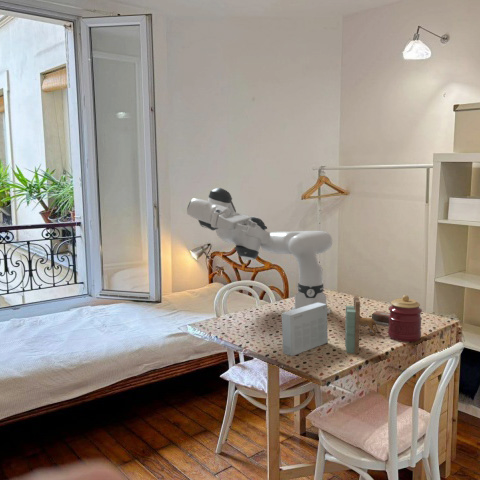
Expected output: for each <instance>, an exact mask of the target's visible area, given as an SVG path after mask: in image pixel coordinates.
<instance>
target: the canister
mask: <svg viewBox="0 0 480 480" xmlns="http://www.w3.org/2000/svg"><path fill="white" fill-rule="evenodd" d="M409 297H410V296H409V295H407V294H404V295H402V297H399V298H396V299H395V298H394V300H392V301H391V302H390V304H391V305H389V306H388V310H389V313H390V314H389V315H388V317H389V325H388V327H387V328H388V329H387V335H388V337H389V338H390V339H392V340H394V341H397V342H403V343H405V342H406V343H412V342H414V343H415V342H417V341H420V339H421V337H422V320H423V317H422V316H421V315H422V313H423V309H422V308H421V304H420V302H418V301H417V300H416V299H413V298H409Z"/></svg>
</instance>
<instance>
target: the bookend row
mask: <svg viewBox="0 0 480 480" xmlns="http://www.w3.org/2000/svg"><path fill="white" fill-rule="evenodd" d="M360 316H361V301H360V298H359V296H358V295H353V305H345V330H344V332H345V335H344V336H345V338H344V340H345V341H344V343H345V344H344V346H345V351H346V354H355V355H356V354H360V328H361V326H360Z"/></svg>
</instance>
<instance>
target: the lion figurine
mask: <svg viewBox="0 0 480 480" xmlns="http://www.w3.org/2000/svg"><path fill="white" fill-rule="evenodd" d="M360 327H368V328H369V330H368V333H372V332H373V333H372V336H374V337H375V336H376V335H377V334H381V333H382V332H380V331H378V327H377V324H376V323H375V321H374V320H373V319H372V317H362V316H361V315H360ZM376 333H377V334H376Z"/></svg>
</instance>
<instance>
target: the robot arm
mask: <svg viewBox="0 0 480 480" xmlns="http://www.w3.org/2000/svg"><path fill="white" fill-rule="evenodd" d="M186 214H187V215H188V216H190V217H192V218H194V219H195V220H197V221H198V223H199V226H200V227H202V228H204V229H205V228H206V229H209V230H211V231H215V233H216V235H217V237H218V238H220V239H221V240H222V241H224V243H225V242H226V243H229V244H234V245H235V247H234V250H235V251H236V253H237V255H238V256H239V257H240V258H241V259H244V260H247V261H251V260H252V261H253V260H256V259H257V258H258V256H259V253H260V248H261V249H262V250H263V251H265V252H266V253H271V254H280V255H292V256H294V258H295V259H296V262H297V266H298V267H297V268H298V283H297V293H296V294H295V295H294V305H293V306H292V308H291V309H290V311H291V310H294V309H297V308H301V307H304V306H307V305H311V304H314V303H317V302H318V303H323V304H327V305H328V303H327V295H326V294H325V293H324V283H323V274H324V273H323V267H322V265H321V264H320V263H319V262H318V259H317V255H320V254H323V253H325V252H326V251H329V250H330V249H331V248H332V245H333V237H332V235H331V234H330V233H329V232H327V231H325V230H299V231H266V230H268V226H267V225H266V224H265V222H264V221H263V220H262V219H261V218H259V217H256V216H250V215H247V214H243V213H240V212H237V210H236V207H235V205H234V203H233V197H232V195H231V193H230V192H229V191H228V190H226V189H225V188H222V187H215V188H213V189H211V190H210V191H209V194H208V198H207V200H206V199H201V198H197V197H193V198H191V200H190V201H189V203H188V204H187V208H186ZM329 314H331V309H330V308H329V307H328V306H327V315H329Z"/></svg>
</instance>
